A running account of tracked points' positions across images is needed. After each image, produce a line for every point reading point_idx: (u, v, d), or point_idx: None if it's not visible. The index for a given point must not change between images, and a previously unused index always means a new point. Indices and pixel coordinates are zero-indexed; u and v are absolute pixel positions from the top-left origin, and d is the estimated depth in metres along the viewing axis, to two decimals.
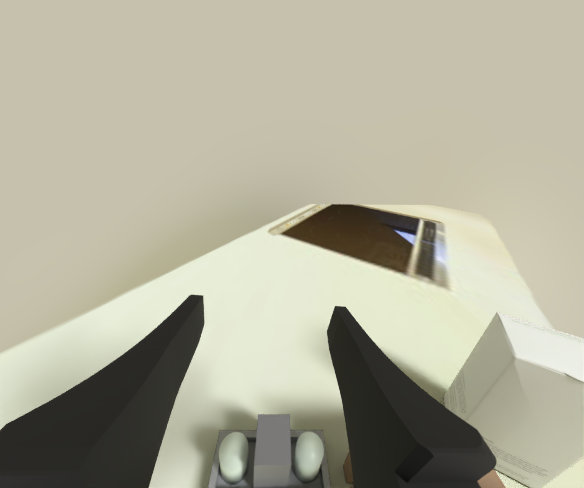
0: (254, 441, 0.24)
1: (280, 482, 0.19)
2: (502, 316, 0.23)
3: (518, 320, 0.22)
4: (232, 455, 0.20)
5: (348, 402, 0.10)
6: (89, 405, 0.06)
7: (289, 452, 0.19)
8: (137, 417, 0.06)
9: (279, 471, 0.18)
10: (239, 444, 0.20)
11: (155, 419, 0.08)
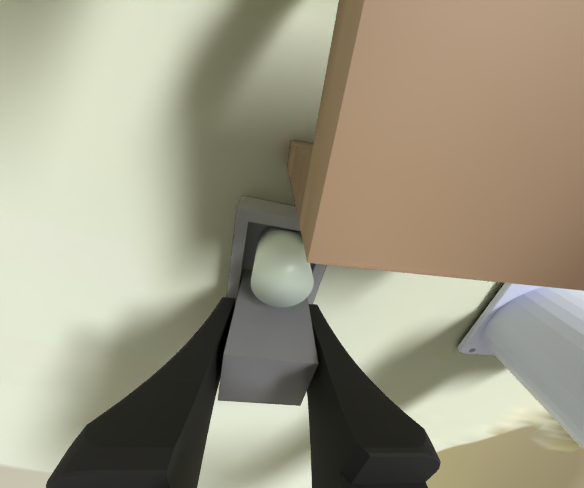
0: None
1: None
2: None
3: None
4: None
5: (312, 401, 0.09)
6: (156, 406, 0.06)
7: (298, 364, 0.08)
8: (196, 418, 0.07)
9: None
10: None
11: (204, 420, 0.08)
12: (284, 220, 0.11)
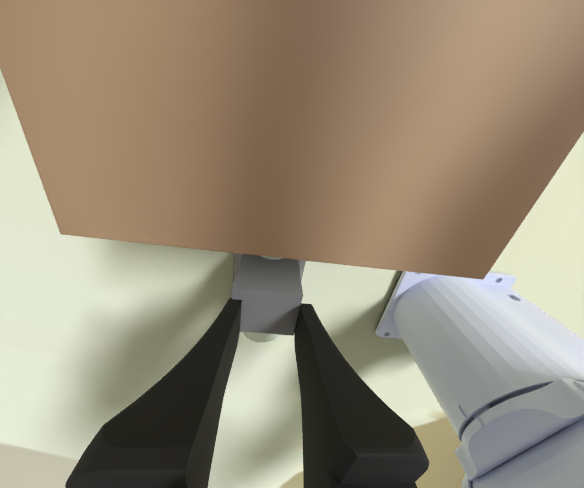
0: None
1: None
2: None
3: None
4: None
5: (304, 401, 0.09)
6: (171, 406, 0.06)
7: (287, 295, 0.11)
8: (208, 418, 0.07)
9: None
10: None
11: (214, 420, 0.08)
12: None
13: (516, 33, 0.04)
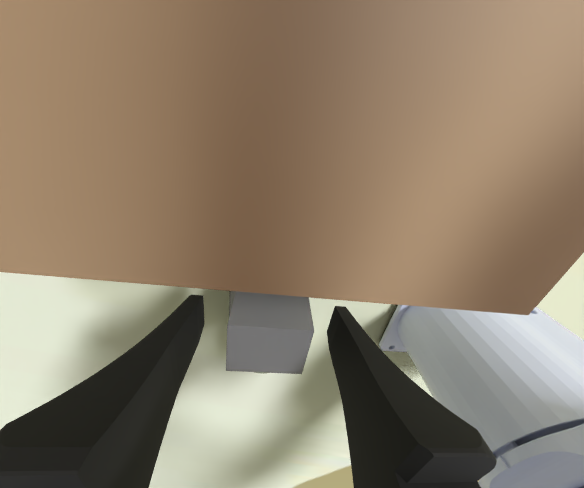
0: None
1: None
2: None
3: None
4: None
5: (348, 402, 0.10)
6: (88, 405, 0.06)
7: (295, 331, 0.09)
8: (137, 417, 0.06)
9: None
10: None
11: (155, 419, 0.08)
12: None
13: None
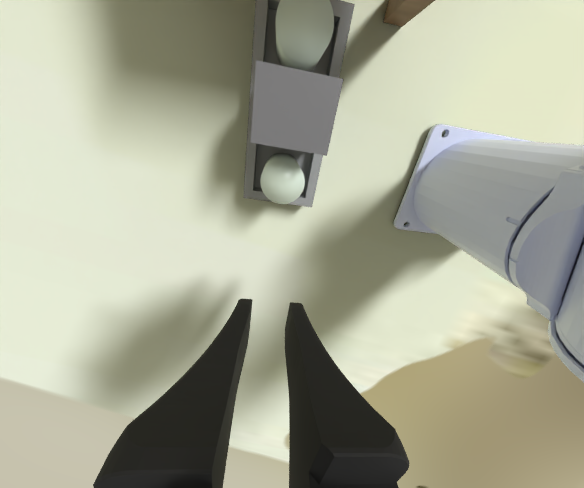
0: None
1: None
2: None
3: None
4: (290, 183, 0.13)
5: (292, 400, 0.09)
6: (191, 407, 0.06)
7: (324, 78, 0.09)
8: (226, 418, 0.07)
9: None
10: (278, 173, 0.13)
11: (229, 420, 0.08)
12: None
13: None
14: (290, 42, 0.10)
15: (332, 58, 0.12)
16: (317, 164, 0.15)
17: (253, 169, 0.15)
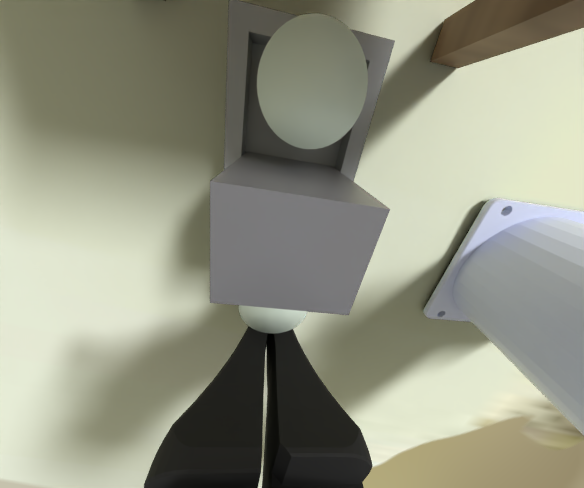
0: None
1: None
2: None
3: None
4: (285, 310, 0.08)
5: (268, 400, 0.09)
6: (230, 408, 0.06)
7: (353, 209, 0.04)
8: None
9: None
10: None
11: None
12: None
13: None
14: (285, 119, 0.05)
15: None
16: None
17: None
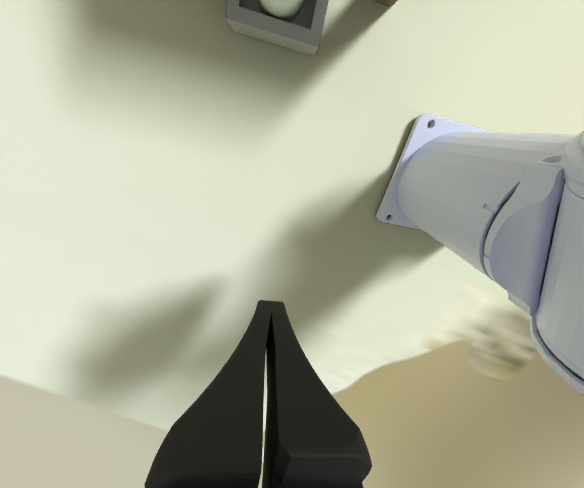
0: None
1: None
2: None
3: None
4: None
5: (268, 400, 0.09)
6: (230, 408, 0.06)
7: None
8: None
9: None
10: None
11: None
12: None
13: None
14: None
15: None
16: None
17: None
